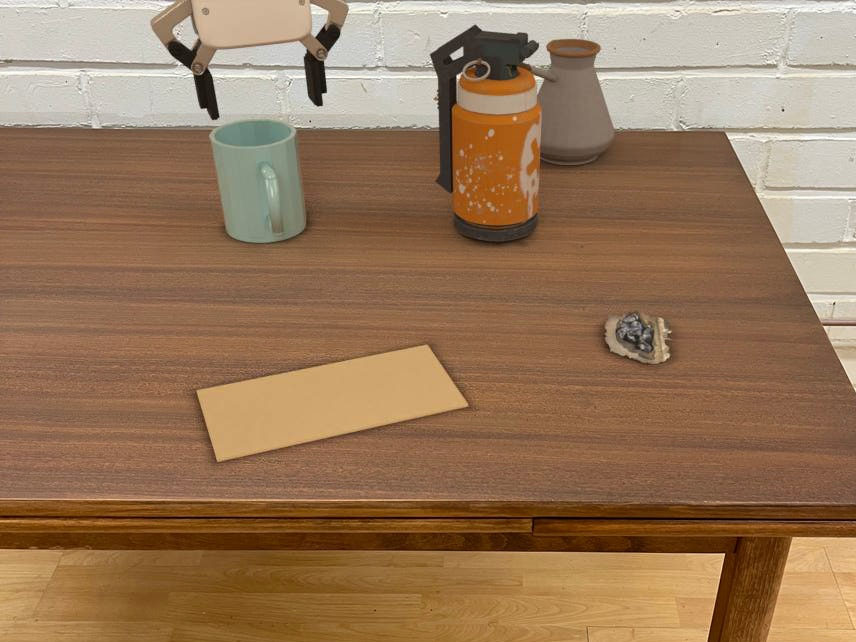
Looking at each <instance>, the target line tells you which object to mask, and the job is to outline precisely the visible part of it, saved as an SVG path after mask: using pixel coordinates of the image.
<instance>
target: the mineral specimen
mask: <svg viewBox="0 0 856 642" xmlns="http://www.w3.org/2000/svg"><path fill="white" fill-rule="evenodd" d="M606 319H608V320H606V321H605V324H604V329H605V330H606V332H604V333H603V334H604V335H605V337H604V338H605V339H604V341H605V343H606V344H607V345H608V347H609V348H610V349H609V351H610V352H612V353H615V354H617V355H619V356H622V357H625V356H627V357H628V358H629V359H633V360H636V361H639V362H640V363H643V364H648V365H659V364H660V363H664V362H666V361H667V360H668V359H670V356H671V353H670V351H669V350H670V348H671V347H670V346H669V345H667V344H666V343H665V342H666V341H665V340H669V341H672V339H671V338H669V337H668V336H669V335H668V334H671V333H672V332H673V330H670V327H671V324H670V322H668V321H667V320H666V319H664V318H663V317H659V316H651V315H650V314H649V313H647V314H646V312H644V311H641V310H639V311H638V310H634V311H633V312H632V313H631V311H627V312H624V313H623V314H622V315H618V314H613V315H612V314H611V313H609V316H606Z"/></svg>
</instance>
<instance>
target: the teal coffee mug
mask: <svg viewBox="0 0 856 642" xmlns="http://www.w3.org/2000/svg"><path fill="white" fill-rule="evenodd" d="M208 138H209V139H208V140H209V144H210V150H211V154H212V155H211V156H212V161H213V167H214V172H215V179H216V186H217V190H218V195H219V201H220V207H221V213H222V219H223V225H224V227H225V231H226V234H228V236H229V237H231V238H233V239H234V240H237V241H241V242H245V243H252V244H253V243H254V244H266V243H267V244H269V243H276V242H281V241H285V240H287V239H291V238H293V237H295V236H298V235H299V234H300V233H302V232H303V231H304V230H305V229H306V227H307V209H306V201H305V200H306V199H305V191H304V183H303V174H302V173H303V172H302V165H301V158H300V157H301V156H300V148H299V139H298V130H297V129H296V128H295V127H294V125H293V124H290V123H289V122H286V121H283V120H278V119H271V118H249V119H241V120H235V121H231V122H228V123H224V124H221V125H219V126H217V127H215V128H214V129H212V130H211V132H210V134H208Z"/></svg>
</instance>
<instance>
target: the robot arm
mask: <svg viewBox="0 0 856 642" xmlns="http://www.w3.org/2000/svg"><path fill="white" fill-rule="evenodd" d="M311 4H312V5H314V6H317V7H319V8H321V9H323V10H326V11H327V13H328V15H327V20H326V22H325V23H324V24H323V26H322V27H321V29H320V30H319V31H318V33H317V34H316V36H314V35H313V34H312V32H313V14H312V8H311ZM349 9H350V8H349V5H348V4H347V3H346V2H345V1H344V0H176V1H175V2H173V3H172V4H170V5H169V6H167V7H166V8H165V9H164V10H162V11H160V12H159V13H158V14H156V15H154V17H153V18H151V19H150V21H149V24H150V27H151V29H152V32H153V33H154V34H155V36H156V37H157V38H158V39H159V41H160V42H161V44H162V45H163V46H164V48H165V49H166V51H168V53H169V54H170V56H171V57H173V58H174V59H175V60H177V62H179V63H180V64H182V65H183V66H184V67H185V68H186V69H188V70H190V72H192V76H193V82H194V87H195V92H196V97H197V102H198V105H199V108H200V110H205V109H206V112H207V114H208V116H209V117H210V120H211V121H217V120H219V119H220V113H219V112H220V111H219V106H218V100H217V94H216V89H215V83H214V78H213V74H212V72H211V71H210V69H209V67H208V66H209V65H210V63H211V61H212V59H213V58H214V56H215V54H216V53H217V51H220V50H221V51H225V50H235V49H245V48H253V47H255V48H256V47H263V46H264V47H265V46H274V45H281V44H288V43H297V42H299V43H301V44H302V46H303V47H304V48H305V51H306V52H305V53H304V56H303V66H304V75H305V84H306V90H307V97H308V99H309V100H310V102H311V103H312V104H313V105H314V106H316V107H317V108H319V107H323V106H324V100H323V94H327V93H328V85H327V84H328V83H327V75H326V67H325V66H326V65H325V61H326V60H327V58H328V56H329V52H330V51H331V49H332V48H333V47H334V46H335V44H336V43H337V42H338V40H339V39H340V37H341V33H342V32H341V31H342V28H343V27H344V24H345V21H346V19H347V16H348V13H349ZM189 17H190V22H191V26H192V29H193V32H194V34H195V35H197V38H196V39H195V41H194V43H193V45H192V47H191V48H189V47H187V46H186V45H184V44H183V43H182V42H181V40H178V38H177V36H176V35H175V34H174V33H173V30H174V28H175V27H177V26H178V25H179V24H180V23H182V22H183V21H184V20H186V19H188V18H189Z"/></svg>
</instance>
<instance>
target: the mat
mask: <svg viewBox="0 0 856 642" xmlns="http://www.w3.org/2000/svg"><path fill="white" fill-rule="evenodd" d="M196 394H197V395H196V396H197V399H198V401H199V405H200V408H201V412H202V415H203V418H204V422H205V426H206V429H207V432H208V435H209V439H210V442H211V445H212V449H213V451H214V455H215V459H216V461H217V463H220V462H224V461H225V462H226V461H228V460H233V459H238V458H239V459H240V458H243V457H247V456H252V455H256V454H261V453H265V452H269V451H274V450H275V451H276V450H279V449H284V448H287V447H292V446H297V445H301V444H307V443H310V442H315V441H319V440H324V439H328V438H334V437H338V436H341V435H346V434H350V433H351V434H352V433H357V432H361V431H364V430H370V429H373V428H378V427H383V426H387V425H393V424H396V423H401V422H405V421H410V420H415V419H419V418H423V417H428V416H432V415H437V414H442V413H446V412H450V411H456V410H460V409H465V408H468V407H469V403H468V401H467V400H466V399H465V397H464V396H463V394H462V393H461V392H460V390H459V388H458V387H457V386H456V384H455V382H454V381H453V379H452V378H451V376H450V375H449V374H448V372H447V371H446V369H445V368H444V366H443V365H442V363H441V362H440V361H439V359H438V358H437V356H436V355H435V353H434V352H433V351H432V349H431V347H430V346H429V344H424V345H423V344H422V345H418V346H414V347H408V348H402V349H398V350H394V351H393V350H392V351H387V352H383V353H377V354H372V355H367V356H363V357H357V358H352V359H348V360H347V359H346V360H343V361H337V362H333V363H327V364H322V365H317V366H313V367H308V368H302V369H298V370H293V371H288V372H287V371H286V372H281V373H277V374H272V375H267V376H262V377H261V376H260V377H256V378H251V379H247V380H242V381H237V382H232V383H227V384H221V385H216V386H210V387H208V388H207V387H205V388H201V389H196Z"/></svg>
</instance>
